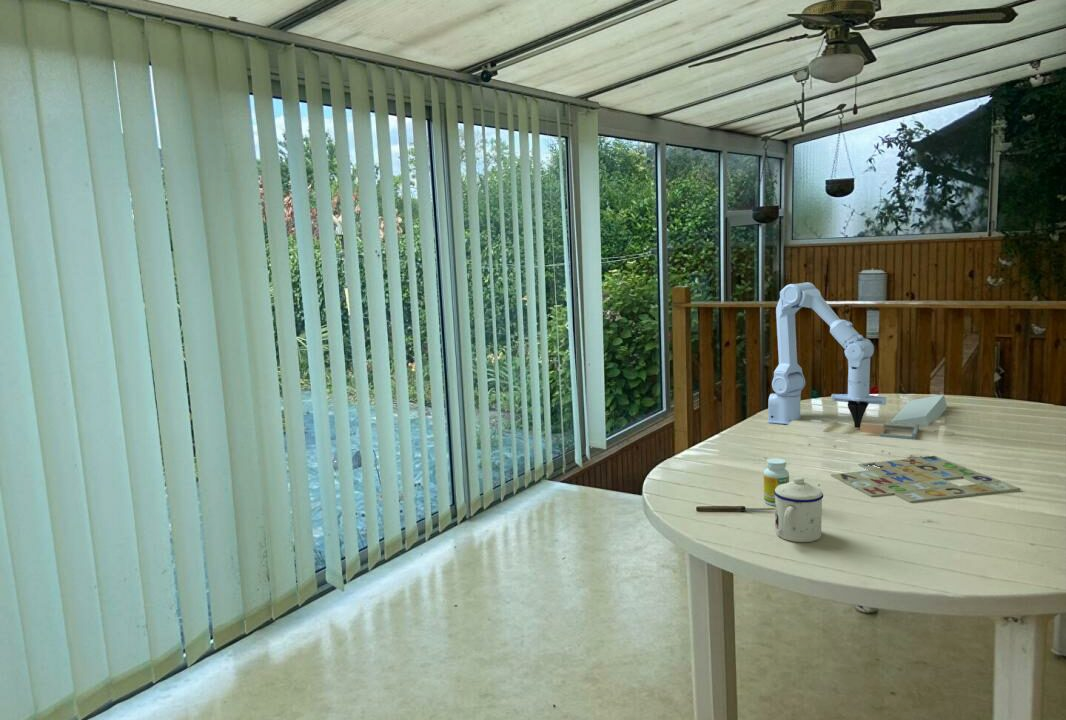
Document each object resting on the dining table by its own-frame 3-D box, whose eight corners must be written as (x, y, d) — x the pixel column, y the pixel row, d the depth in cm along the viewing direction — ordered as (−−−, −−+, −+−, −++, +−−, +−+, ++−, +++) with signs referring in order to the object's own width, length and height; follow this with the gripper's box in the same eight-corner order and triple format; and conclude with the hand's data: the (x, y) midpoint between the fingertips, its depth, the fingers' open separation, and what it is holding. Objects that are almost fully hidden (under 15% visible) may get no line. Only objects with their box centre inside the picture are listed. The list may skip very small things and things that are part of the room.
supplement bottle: (773, 496, 169) (774, 455, 168) (794, 502, 165) (794, 460, 163) (758, 502, 166) (758, 460, 164) (778, 508, 162) (779, 465, 160)
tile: (860, 432, 215) (860, 423, 214) (863, 427, 220) (863, 419, 219) (883, 434, 211) (883, 425, 211) (885, 429, 216) (885, 420, 216)
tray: (879, 441, 209) (879, 430, 209) (884, 431, 220) (884, 421, 219) (915, 444, 205) (915, 433, 204) (918, 434, 215) (919, 423, 214)
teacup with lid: (782, 522, 153) (782, 468, 152) (827, 531, 148) (829, 474, 146) (762, 542, 144) (762, 485, 142) (810, 552, 139) (811, 492, 137)
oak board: (823, 436, 217) (823, 431, 217) (830, 427, 227) (830, 422, 227) (879, 441, 209) (879, 436, 209) (884, 431, 220) (884, 426, 219)
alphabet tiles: (934, 459, 193) (934, 454, 193) (1021, 493, 166) (1021, 488, 166) (817, 471, 188) (817, 466, 187) (887, 508, 161) (887, 502, 160)
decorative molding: (894, 436, 225) (930, 431, 219) (889, 421, 225) (925, 416, 219) (915, 413, 252) (947, 408, 246) (911, 400, 252) (943, 394, 246)
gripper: (829, 382, 216) (828, 427, 218) (884, 385, 208) (883, 432, 210) (834, 378, 222) (833, 422, 224) (887, 380, 214) (886, 426, 216)
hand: (857, 426), depth 217 cm, fingers closed
